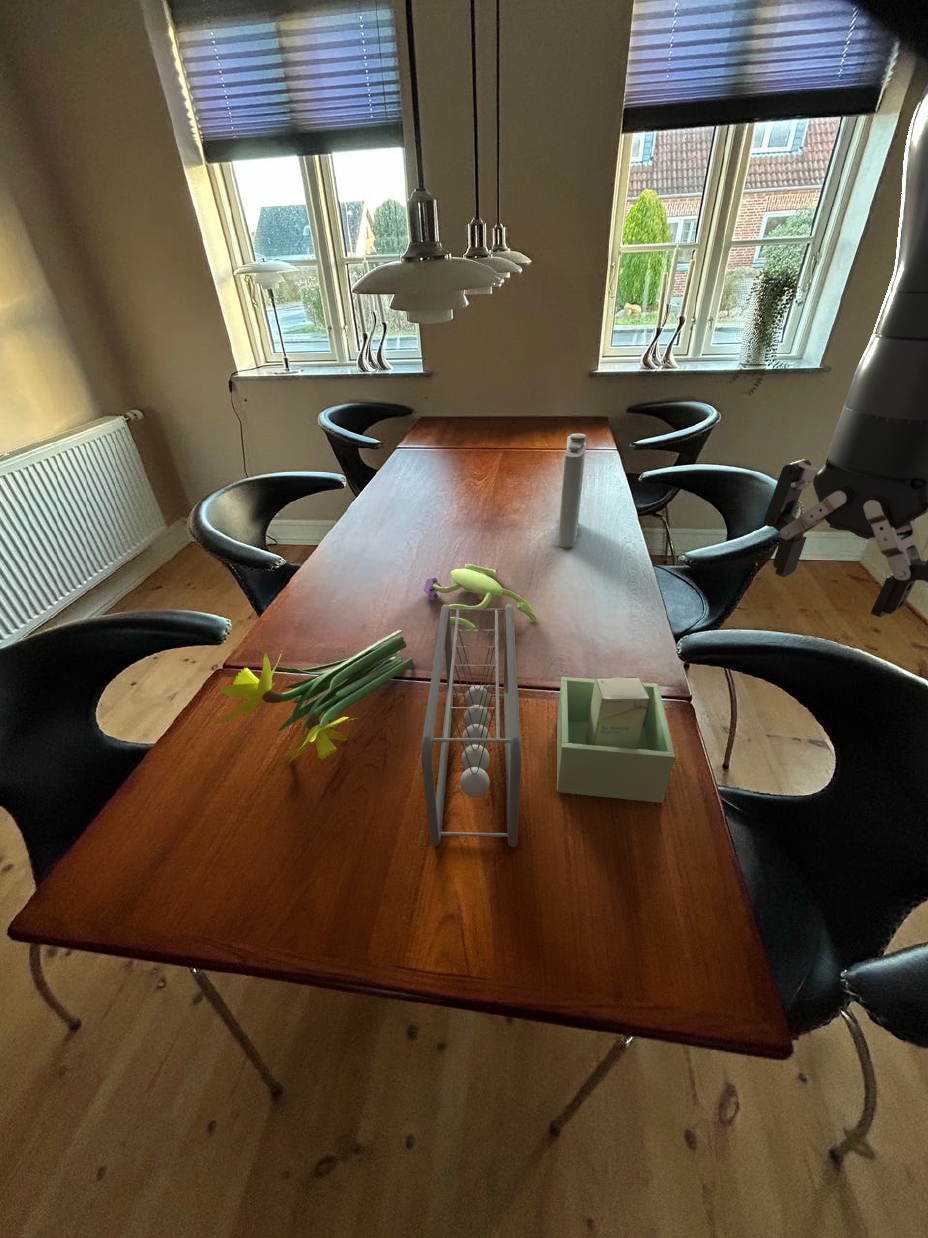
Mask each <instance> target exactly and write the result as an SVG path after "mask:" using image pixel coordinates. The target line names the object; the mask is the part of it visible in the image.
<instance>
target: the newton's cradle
mask: <svg viewBox="0 0 928 1238" xmlns="http://www.w3.org/2000/svg"><path fill="white" fill-rule="evenodd" d="M448 605H449V604H443V605H442V606H441V609H440V615H439V623H438V630H437V636H436V644H435V652H434V658H433V664H432V669H431V677H430V684H429V692H428V698H427V705H426V710H425V711H426V712H425V717H424V718H425V719H424V725H423V733H422V740H421V741H422V742H421V754H420V755H421V756H420V757H421V759H420V761H421V769H422V770H421V771H422V780H423V788H424V789H423V790H424V796H425V806H426V816H427V825H428V831H429V832H428V834H429V841H430V844H431V845H432V846H435V847H436V846H438V845H440V843H441V839H442V836H449V837H450V836H452V837H453V836H454V837H495V838H497V837H499V838H507V844H508V847H510V848H515V847H517V845H518V841H519V822H520V821H519V819H520V800H521V799H520V798H521V779H522V778H521V776H522V775H521V774H522V737H521V735H522V734H521V721H520V705H519V688H518V687H519V685H518V671H517V670H518V668H517V654H516V653H517V652H516V639H515V624H514V623H515V622H514V621H515V620H514V619H515V618H514V607H513V605H512V604H509V603H508V604H506V605H505V607H504V608H484V609H450V608H449V606H448ZM468 611H476V612H494V629H485V631H489V632H490V631H492V634H491V638H490V642H489V645H488V651H487V655H486V660H485V663H484V664H469V660H468V657H467V653H466V650H465V649H466V648H465V645H464V642H463V639H462V636H461V632H460V629H459V627H458V626H459V624H458V619H459V618H460V612H468ZM451 612H455V617H456V621H455V623H454V630H453V631H454V632H453V639H452V623H451V619H450V617H451ZM499 612H504V633H503V634H504V635H503V638H504V639H503V640H504V642H503V643H504V645H503V694H501V693H500V665H499V664H500V661H499V657H500V656H499ZM494 635H495V636H494ZM458 637H459V639H460V643H461V647H462V651H463V653H464V657H465V660H466V663H467V664H463V661H462V657H461V654H460V651H459V646H457V639H458ZM493 637H494V639H495V640H494V643H495V644H494V645H495V646H492V642H493ZM452 642H453V643H452ZM491 648H492V650H491ZM490 650H491V655H490ZM456 651H457V654H458V658H459V661H460V664H455V660H456ZM494 651H495V654H494ZM444 654H445V655H444ZM489 655H490V659H489ZM494 655H495V664H491V663H492V660H493V656H494ZM444 657H445V671H446V698H445V705H444V706H445V708H444V715H443V716H444V717H443V718H444V719H443V726H442V737H434V734H435V726H436V719H437V711H438V702H439V695H440V687H441V686H440V685H441V678H442V670H443V662H444ZM488 659H489V664H487V663H488ZM457 666H458V667H459V666H461V668H462V672H463V675H464V679H465V683H466V684H462V681H461V678H460V675H459V670H458V668H457ZM465 666H467V668H468V670H469V674H470V678H471V681H472V684H469V683H468V679H467V676H466V675H467V674H466V672H465V668H464V667H465ZM473 666H474V667H478V666H479V667H483V671H482V675H481V679H480V680H481V681H480V684H475V682H474V678H473V675H472V671H471V668H470V667H473ZM486 667H488V668H487V673H486V676H485V681H484V684H482V683H483V680H484V675H485V671H486ZM491 667H492V670H491V674H490V678H489V682H488V684H487V680H488V675H489V672H490V668H491ZM494 670H495V684H491V682H492V678H493V674H494ZM454 671H456V675H457V678H458V681H459V682H458V683H459V684H455V681H454V680H455V679H454V676H455V675H454ZM456 687H460V689H461V692H462V693H457V690H456ZM463 687H467V691H466V693H465V692H464V691H465V690H464V688H463ZM486 687H487V689H486ZM490 687H492V690H491V693H489V690H490ZM494 691H495V693H494ZM454 697H456V700H457V705H458V706H454V705H453V704H454ZM459 697H463V698H464V702H465V706H466V707H465V706H461V704H460V700H459ZM492 697H493V698H495V707H493V708H492V713H491V715H490V713H489V710H490V708H491V707H490V706H491V702H492V700H493V699H492ZM500 698H503V713H504V714H503V717H504V738H501V728H500V727H501V725H500V724H501V722H500V719H501V717H500V716H501V715H500ZM453 706H454V707H453ZM454 709H459V710H460V714H461V717H462V720H463V724H464V727H465V729H464V731H463V733H462V735H461V732H460V728H459V724H458V722H457V721H458V720H457V719H456V716H455V712H454ZM462 709H466V711H465V712H464V714H463V710H462ZM494 714H495V738H491V737H490V729H491V724H492V721H493V717H494ZM452 717H453V719H454V722H455V725H456V728H457V729H456V730H457V733H458V735H459V737H456V738H454V737H453V738H452V737H451V729H452ZM433 743H441V746H440V755H439V766H438V776H437V782H436V783H437V784H436V785H435V778H434V777H435V776H434V767H433ZM450 743H461V745H462V748H463V752H462V754H461V763H462V766H463V767H464V769H465V770H464V771H463V772H462V773H461V777H460V780H459V783H460V788H461V790H462V792H463V793H464V795H466V796H468V797H470V798H480V797H483V796H484V795H486V793H487V792H488V790H489V788H490V777H489V775H488V773H487V772H486V771H485V770H486V769H487V768H488V767H489V764H490V754H489V752H488V750H487V747H488V745H489V743H490V744H491V743H492V744H493V743H495V744H504V751H505V752H504V753H505V755H504V756H505V757H504V758H505V787H506V788H505V789H506V790H505V793H506V820H507V821H506V825H507V827H506V828H507V833H505V832H460V831H457V832H456V831H442V830H443V818H444V808H445V807H444V806H445V796H446V787H447V786H446V785H447V775H448V773H447V772H448V763H449V753H450V751H449V750H450ZM435 787H436V789H435Z"/></svg>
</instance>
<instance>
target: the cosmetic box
mask: <svg viewBox="0 0 928 1238" xmlns="http://www.w3.org/2000/svg"><path fill="white" fill-rule="evenodd" d="M594 679H595V683H594V689H593V696H592V702H591V708H590V714H589V720H588V727H587V733H586V739H585V743H586V745H594V746H605V747H616V748H628V749H637V746H638V742H639V737H640V733H641V729H642V725H643V721H644V716H645V712H646V708H647V704H648V700H649V697H648V694H647V692H646V689H645V687H644V684H643V683H644V682H643V680H642V678H641V676H620V677H619V676H613V677H612V676H611V677H609V676H608V677H595V678H594Z"/></svg>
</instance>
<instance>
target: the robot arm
mask: <svg viewBox="0 0 928 1238" xmlns="http://www.w3.org/2000/svg"><path fill="white" fill-rule="evenodd" d="M908 130H909V131H908V135H907V139H906V145H905V151H904V160H903V173H902V174H903V175H902V192H901V193H902V194H901V204H900V217H899V227H898V237H897V247H896V259H895V265H894V271H893V275H892V278H891V281H890V283H889V286H888V290H887V292H886V295H885V298H884V301H883V304H882V306H881V309H880V313H879V315H878V318H877V321H876V324H875V327H874V329H873V333H872V335H871V337H870V340H869V342H868V345H867V347H866V349H865V351H864V352H863V354H862V357H861V359H860V361H859V363H858V365H857V367H856V370H855V371H854V375H853V378H852V381H851V384H850V387H849V390H848V392H847V396H846V399H845V401H844V403H843V407H842V410H841V413H840V416H839V419H838V421H837V425H836V428H835V431H834V434H833V437H832V440H831V442H830V446H829V448H828V451H827V454H826V460H825V464H824V465H823V467H822V468H820V467H816V466H813V465H812V462H811V461H810V460H808V459H805V458H804V459H800V460H797V461H795V462H791V463H788V464H785V465H784V466H783V467H782V469H781V471H780V473H779V476H778V478H777V479H778V480H777V483H776V485H775V488H774V491H773V493H772V496H771V499H770V501H769V504H768V507H767V509H766V512H765V516H764V518H763V522H764V524H765V526H766V527H769V528H774V529H775V530H776V531H778V533H779V535H780V536H779V537H780V539H779V542H778V544H777V545H778V546H777V548H776V552H775V555H774V559H773V561H772V564H773V568H775V575H777V576H778V577H781V578H785V577H788V576H790V575H791V574H793V573H794V572H795V571H796V569H797V566H798V563H799V561H800V559H801V555H802V552H803V550H804V547H805V543H806V540H807V536H805V535H804V534H805V533H807V532H808V531H810V530H812V529H813V528H815V527H816V526H818V525H820V524H822V523H824V522H827V524H829V528H831V529H834V530H838V531H847V532H850V533H852V534H853V535H855V536H857V537H859V538H862V539H865V540H870V539H875V541H876V543H877V545H878V549H879V551H880V553H881V554H882V555H883V556H885V557H886V560H887V563H888V565H889V568H890V572H891V573H892V574H890V575H888V576H886V579H885V580H884V583H883V585H882V587H881V589H880V591H879V593H878V596H877V598H876V600H875V602H874V604H873V606H872V609H871V611H870V614H871V615H873V616H875V617H878V618H882V617H885V616H886V615H887V614H888V615H891V614H893V613H895V612H896V611H898V610H899V609H901V608H903V606H904V605H905V603H906V601H907V600H908V598H909V596H910V593H911V591H912V589H913V587H914V586H915V583H916V581H925V582H926V583H928V559H927V560H925V559H924V557H923V554H922V551H921V548H920V545H919V543H920V536H919V533H918V530H917V527H916V525H915V522H914V521H915V520H917V519H918V518H920V517H921V516H924V515H925V514H927V513H928V84H927V85H926V86H925V88H924V91H923V92H922V94H921V97H920V99H919V101H918V104H917V105H916V108H915V111H914V113H913V117H912V119H911V123H910V126H909V129H908ZM811 484H812V485H813V489H814V491H815V495H816V498H817V501H818V503H817V504H815V505H814V506H812V507H811V508H809V509H807V510H805V512H803V513H802V514H800V515H799V516H797V518H796V517H795V516H793V514H794V511H795V509H796V506H797V504H798V502H799V499H800V496H801V494H802V492H803V489H804V490H805V489H806V488H808V487H809V486H810V485H811Z"/></svg>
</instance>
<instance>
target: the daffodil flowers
mask: <svg viewBox="0 0 928 1238" xmlns="http://www.w3.org/2000/svg"><path fill="white" fill-rule="evenodd" d="M403 632H404V630H402V629H398V630H396V631H394V632H392V633H390V634H389V635H387V636H385V637H383V638H382V639H379V640H378V641H376V642H375V643H373V644H371V645H370V646H367V647H366V648H364V649H363V650H362V651H359V652H358V653H356V654H354V655H353V656H351V657H349V658H345V659H341V660H338V661H334V662H331V663H328V664H324V665H318V666H314V667H309V668H296V667H293V666H290V667H284V666H278V664H279V662H280V659H281V658H282V654H280V655H279V658H278V660H277V662H276V664H275V665H271V662H270V658H269V656H268V653H267V652H264V654H263V658H262V670H261V673H260V677H259V678H258V677H257V676H255V674H254V673H253V672H252V671H251V670H250V669H249V668H248V667H243V669H240V672H238V673H237V674H238V675H235V679H233V682H232V684H230V685H224V686H218V687H217V690H218V691H219V692H220V693H222V694H224V695H225V696H228V697H231V698H236V699H237V698H239V699H246V700H244V701H243V702H241V704H239V705H237V707H235V708H234V709H233V710H231V711H230V712H228V713H227V714H226V715H225V716H223V717H222V718H220V719H219V720H218V721H217V722H216V723H215V725H218V724H220V723H224V722H227V721H231V720H232V719H235V718H237V717H239V716H240V715H241V714H243V715H242V719H244V718H245V717H247V716H248V715H249V714H251V713H254V711H255V710H256V709H257V708H258V707H259V705H260V704H261V703H262V701H264V702H265V703H269V704H280V703H284V702H288V701H290V700H291V701H292V700H293V699H294V700H293V701H292V703H293V704H296V706H295V707H294V709H293V712H292V714H291V716H290V717H289V718H288V719H286V721H285V722H284V723H282V725H281V726H280V727H279V729H278V732H281V731H282V730H284V729H286V728H287V727H290V726H291V725H293V724H295V723H296V722H298V721H299V720H301V719H302V718H304V717H305V716H307V717H306V719H305V721H304V724H303V728H302V731H301V735H304V733H305V730H306V729H308V730H309V731H308V732H307V733H306V734H305V736H304V737H303V738H302V740H301V742H300V743H299V745H297V747H295V749H294V750H293V752H292V755H291V757H290V759H289V761H288V763H287V765H286V767H288V765H290V763H291V762H292V761H294V760H295V759H296V758H298V756H300V754H302V752H303V751H305V749H306V748H307V747H308V746H309V745H310V744H311V743H313V742H314V744H315V746H316V750H317V755H318V759H319V760H323V759H326V758H327V757H330V755H333V754H334V753H336V752H338V750H339V749H338V748H337V747H336V746H335V744H333V742H332V741H331V740H332V739H333V740H340V741H344V742H346V741H349V739H348V738H347V737H346V736H345V735H343V734H342V733H341V732H339V731H337V730H336V729H332V728H334V727H336V726H339V725H341V724H343V723H346V722H348V721H349V717H348V716H342V717H340V718H338V719H336V720H334V721H332V719H334V718H335V717H336V716H338V715H339V714H341V713H342V712H343V711H345V710H346V709H348V708H349V707H351V706H352V705H354V704H356V703H357V702H358V701H360V700H361V699H363V698H364V697H366V696H368V695H369V694H371V693H373V692H374V691H375V690H377V689H378V688H380V687H381V686H383V685H384V684H386V683H388V682H389V681H391V680H393V679H394V678H395V677H397V676H399V675H400V674H401V673H403V672H405V671H406V670H408V669H410V668H411V667H413V666H414V665H415V663H414V660H413V658H411V657H409V658H408V659H406V660H405V661H404V660H403V658H402V657H401V656H398V657H397V655H398V654H400V653H401V651H402V650H404V649H405V648H407V642H406V640H405V638H404V636H403V635H401V636H400V634H402V633H403ZM398 635H399V637H398ZM281 651H283V649H281ZM328 668H329V669H328ZM276 670H278V671H282V672H286V673H289V674H298V675H299V674H305V675H309V676H310V675H311V676H313V677H310V678H307V679H303V680H301V681H298V682H295V683H292V684H289V685H287V686H284V687H283V688H284V689H291V690H289V691H286V692H285V691H284V692H278V691H277V690H275V689H272V688H274V687H275V686H276V683H275V682H273V676H274V674H275V671H276ZM321 670H323V671H321ZM318 695H319V696H318ZM314 697H315V698H314ZM312 698H313V699H312ZM311 699H312V700H311ZM308 700H310V701H309V702H307V701H308ZM304 702H307V703H306V704H304ZM320 715H322V716H321V718H320V719H319V717H320ZM363 718H364V716H362V717H357V718H356V719H363ZM350 721H353V718H350Z"/></svg>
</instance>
